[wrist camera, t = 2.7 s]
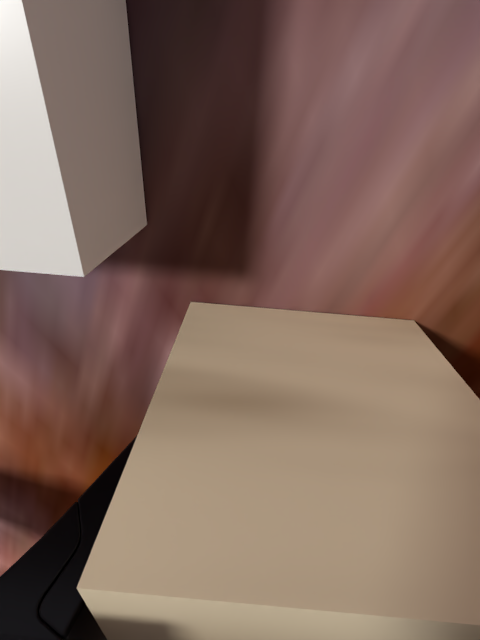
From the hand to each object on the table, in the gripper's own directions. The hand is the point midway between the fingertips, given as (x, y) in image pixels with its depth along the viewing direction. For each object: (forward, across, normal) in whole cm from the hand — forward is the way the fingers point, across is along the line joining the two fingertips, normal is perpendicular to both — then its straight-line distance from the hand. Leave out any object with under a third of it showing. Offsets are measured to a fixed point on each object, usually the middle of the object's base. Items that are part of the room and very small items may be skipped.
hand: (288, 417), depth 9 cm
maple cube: (+1, 0, 0) cm, 1 cm away
